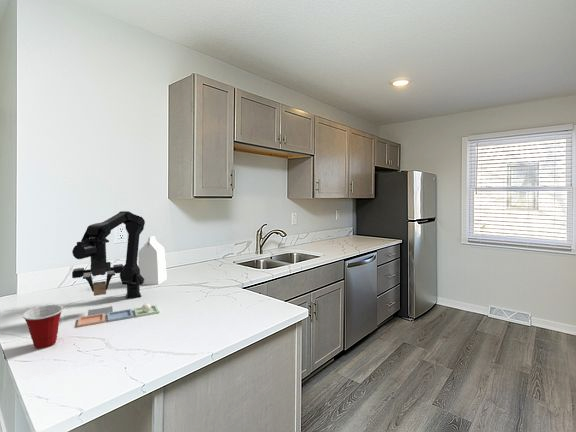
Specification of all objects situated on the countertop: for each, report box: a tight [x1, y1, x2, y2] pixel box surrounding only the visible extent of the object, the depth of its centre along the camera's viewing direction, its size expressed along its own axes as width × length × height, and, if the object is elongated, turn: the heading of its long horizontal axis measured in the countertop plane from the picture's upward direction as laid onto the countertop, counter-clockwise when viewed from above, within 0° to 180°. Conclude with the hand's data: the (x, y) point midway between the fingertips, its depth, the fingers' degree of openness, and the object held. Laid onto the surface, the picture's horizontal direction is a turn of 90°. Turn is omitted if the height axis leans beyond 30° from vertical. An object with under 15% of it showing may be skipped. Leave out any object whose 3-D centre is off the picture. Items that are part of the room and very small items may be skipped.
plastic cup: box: [22, 304, 64, 350], centre depth 107 cm, size 11×11×12 cm
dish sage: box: [133, 304, 160, 318], centre depth 137 cm, size 9×9×1 cm
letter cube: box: [93, 280, 107, 297], centre depth 137 cm, size 4×4×5 cm
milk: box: [137, 235, 168, 285], centre depth 185 cm, size 12×12×26 cm
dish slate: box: [106, 308, 134, 323], centre depth 132 cm, size 9×9×1 cm
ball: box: [141, 303, 152, 312], centre depth 137 cm, size 4×4×4 cm
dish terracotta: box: [76, 313, 106, 328], centre depth 127 cm, size 9×9×1 cm
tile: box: [87, 306, 114, 316], centre depth 137 cm, size 9×9×1 cm
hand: (99, 290), depth 137 cm, fingers closed on letter cube, 4 cm apart
